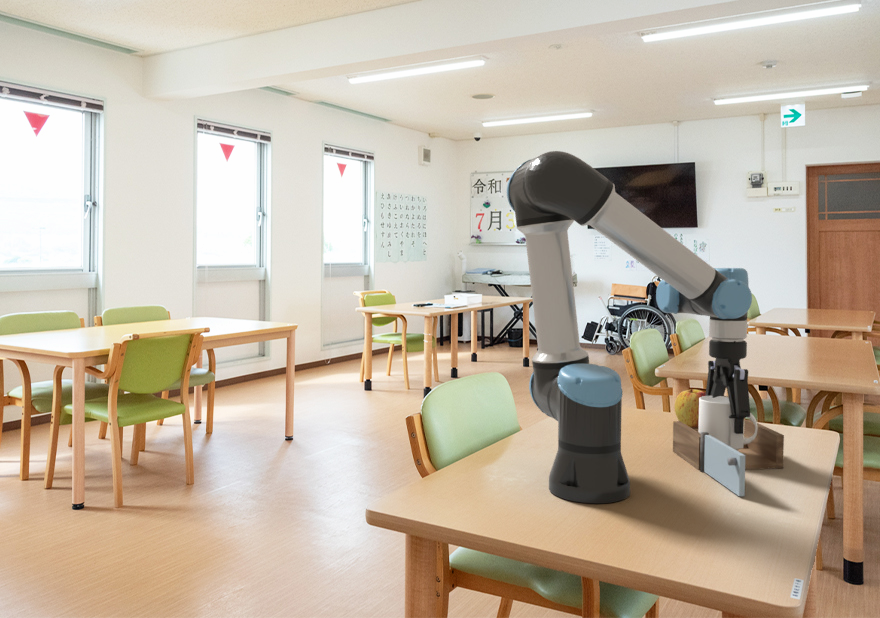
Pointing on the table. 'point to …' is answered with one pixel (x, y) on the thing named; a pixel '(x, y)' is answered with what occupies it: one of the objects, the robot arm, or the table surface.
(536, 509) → the table surface
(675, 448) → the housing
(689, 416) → the apple
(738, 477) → the door
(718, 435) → the mug
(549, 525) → the table surface
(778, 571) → the table surface
